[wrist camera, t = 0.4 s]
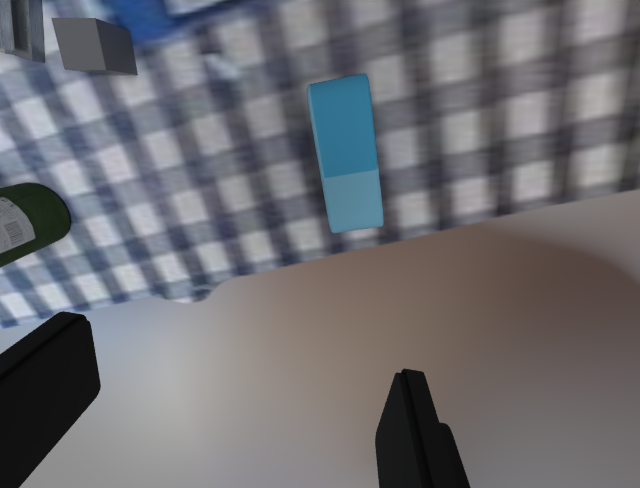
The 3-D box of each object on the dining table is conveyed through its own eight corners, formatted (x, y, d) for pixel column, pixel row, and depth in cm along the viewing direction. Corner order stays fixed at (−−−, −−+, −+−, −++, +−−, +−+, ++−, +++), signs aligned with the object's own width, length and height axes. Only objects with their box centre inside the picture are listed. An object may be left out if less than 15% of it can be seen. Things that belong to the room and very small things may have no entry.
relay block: (92, 30, 33) (51, 18, 28) (130, 30, 33) (95, 18, 28) (101, 74, 34) (64, 69, 30) (138, 75, 34) (105, 70, 30)
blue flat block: (373, 195, 38) (385, 232, 26) (335, 201, 38) (331, 239, 27) (360, 82, 33) (368, 70, 22) (317, 91, 34) (304, 83, 23)
